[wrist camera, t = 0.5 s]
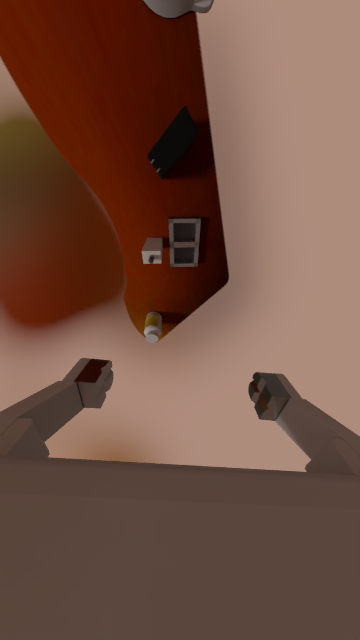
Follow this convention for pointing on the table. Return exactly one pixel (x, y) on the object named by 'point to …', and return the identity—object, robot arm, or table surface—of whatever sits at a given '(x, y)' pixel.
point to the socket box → (184, 241)
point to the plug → (152, 251)
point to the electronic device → (173, 143)
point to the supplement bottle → (153, 327)
